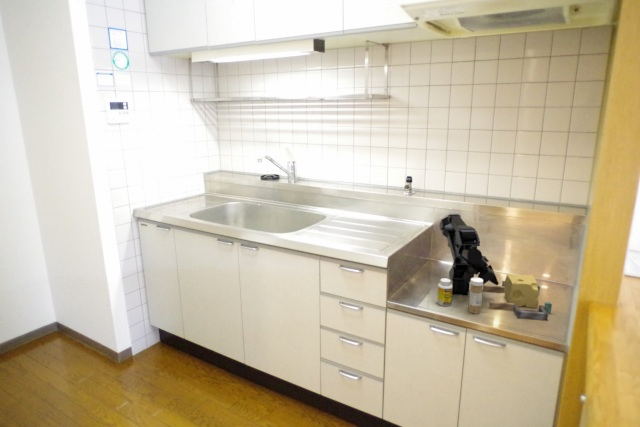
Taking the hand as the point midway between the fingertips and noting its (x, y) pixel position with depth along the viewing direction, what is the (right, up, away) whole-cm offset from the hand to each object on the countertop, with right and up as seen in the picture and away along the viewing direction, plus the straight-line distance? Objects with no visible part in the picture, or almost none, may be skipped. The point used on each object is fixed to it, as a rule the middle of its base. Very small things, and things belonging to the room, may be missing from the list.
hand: (497, 284), depth 171 cm
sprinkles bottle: (-12, -9, -7) cm, 17 cm away
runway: (+7, -7, 0) cm, 10 cm away
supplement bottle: (-22, -8, 0) cm, 23 cm away
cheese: (+9, -7, 0) cm, 12 cm away
